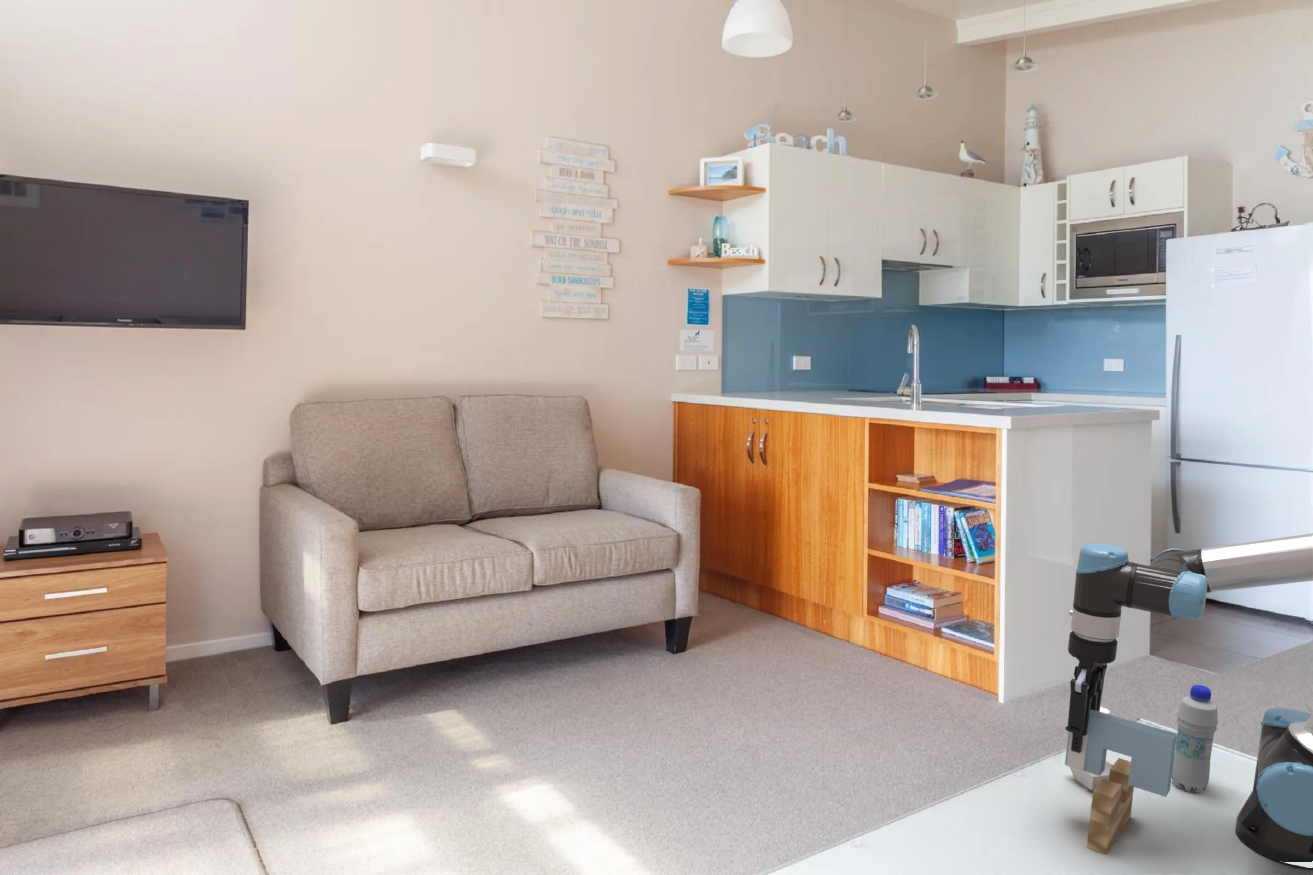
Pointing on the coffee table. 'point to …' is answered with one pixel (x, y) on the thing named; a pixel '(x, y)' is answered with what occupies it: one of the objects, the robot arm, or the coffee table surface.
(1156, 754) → the blue bridge block
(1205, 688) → the bottle
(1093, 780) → the figurine
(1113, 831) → the wooden block stack
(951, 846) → the coffee table surface
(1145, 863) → the coffee table surface
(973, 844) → the coffee table surface
